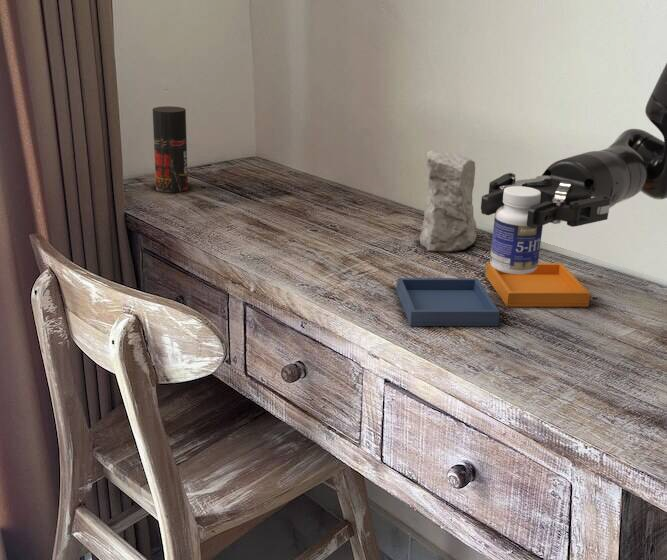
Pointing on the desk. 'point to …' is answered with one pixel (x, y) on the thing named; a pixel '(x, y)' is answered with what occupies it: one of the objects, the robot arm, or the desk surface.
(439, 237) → the decorative stone
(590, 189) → the robot arm
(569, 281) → the amber tray
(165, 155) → the deodorant
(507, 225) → the pill bottle
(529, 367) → the desk surface
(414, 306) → the slate-blue tray
